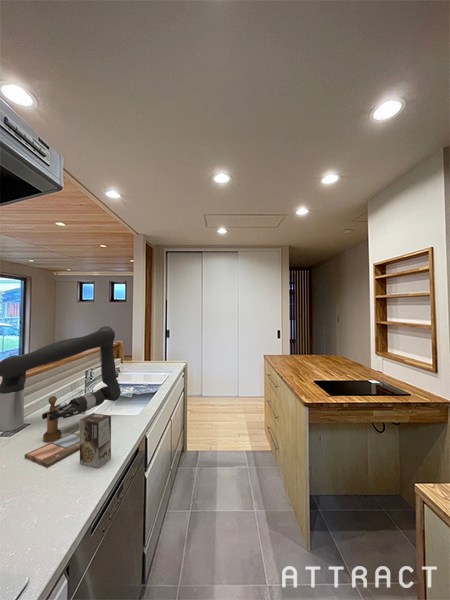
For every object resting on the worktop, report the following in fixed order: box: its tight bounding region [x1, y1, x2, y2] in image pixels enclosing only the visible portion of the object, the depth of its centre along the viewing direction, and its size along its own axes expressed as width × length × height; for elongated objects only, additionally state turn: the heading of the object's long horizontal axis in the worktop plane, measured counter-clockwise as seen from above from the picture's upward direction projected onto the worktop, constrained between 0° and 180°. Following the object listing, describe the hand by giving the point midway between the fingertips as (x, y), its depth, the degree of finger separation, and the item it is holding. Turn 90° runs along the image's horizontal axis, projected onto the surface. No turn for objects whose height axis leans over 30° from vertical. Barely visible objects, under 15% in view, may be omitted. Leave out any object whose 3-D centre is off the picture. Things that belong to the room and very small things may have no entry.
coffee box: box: [79, 412, 112, 469], centre depth 98 cm, size 9×6×16 cm
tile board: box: [24, 428, 80, 468], centre depth 109 cm, size 14×27×2 cm, turn 155°
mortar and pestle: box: [42, 395, 62, 443], centre depth 114 cm, size 7×6×18 cm
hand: (46, 417), depth 112 cm, fingers closed on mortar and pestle, 4 cm apart
